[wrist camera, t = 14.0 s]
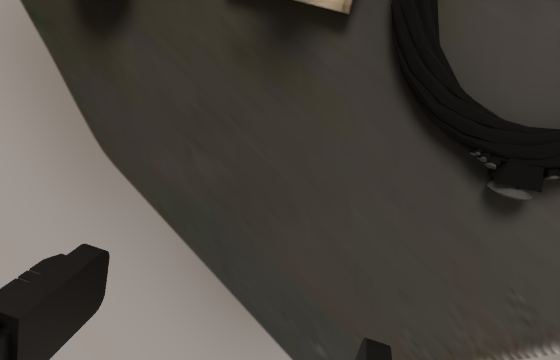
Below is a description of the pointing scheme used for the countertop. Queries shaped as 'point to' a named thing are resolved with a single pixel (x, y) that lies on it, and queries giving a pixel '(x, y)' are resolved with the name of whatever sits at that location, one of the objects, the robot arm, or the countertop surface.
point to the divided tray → (331, 4)
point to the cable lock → (470, 108)
